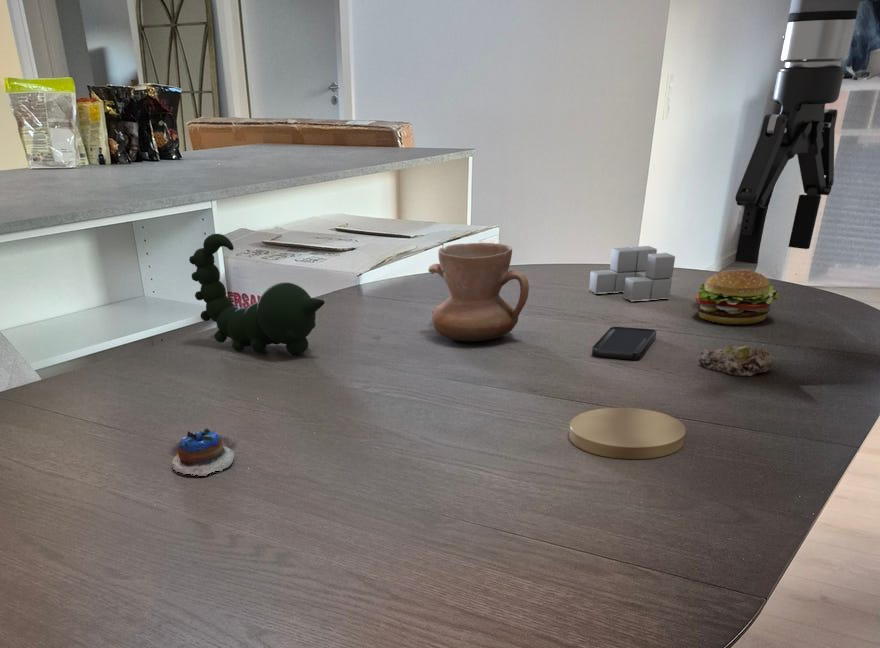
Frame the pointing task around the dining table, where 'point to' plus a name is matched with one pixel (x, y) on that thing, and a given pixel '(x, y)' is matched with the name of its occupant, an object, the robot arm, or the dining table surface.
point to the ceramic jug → (476, 292)
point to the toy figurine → (254, 307)
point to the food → (735, 297)
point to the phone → (624, 343)
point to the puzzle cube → (636, 273)
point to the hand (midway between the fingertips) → (773, 254)
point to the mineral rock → (737, 360)
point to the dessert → (202, 453)
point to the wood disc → (627, 433)
